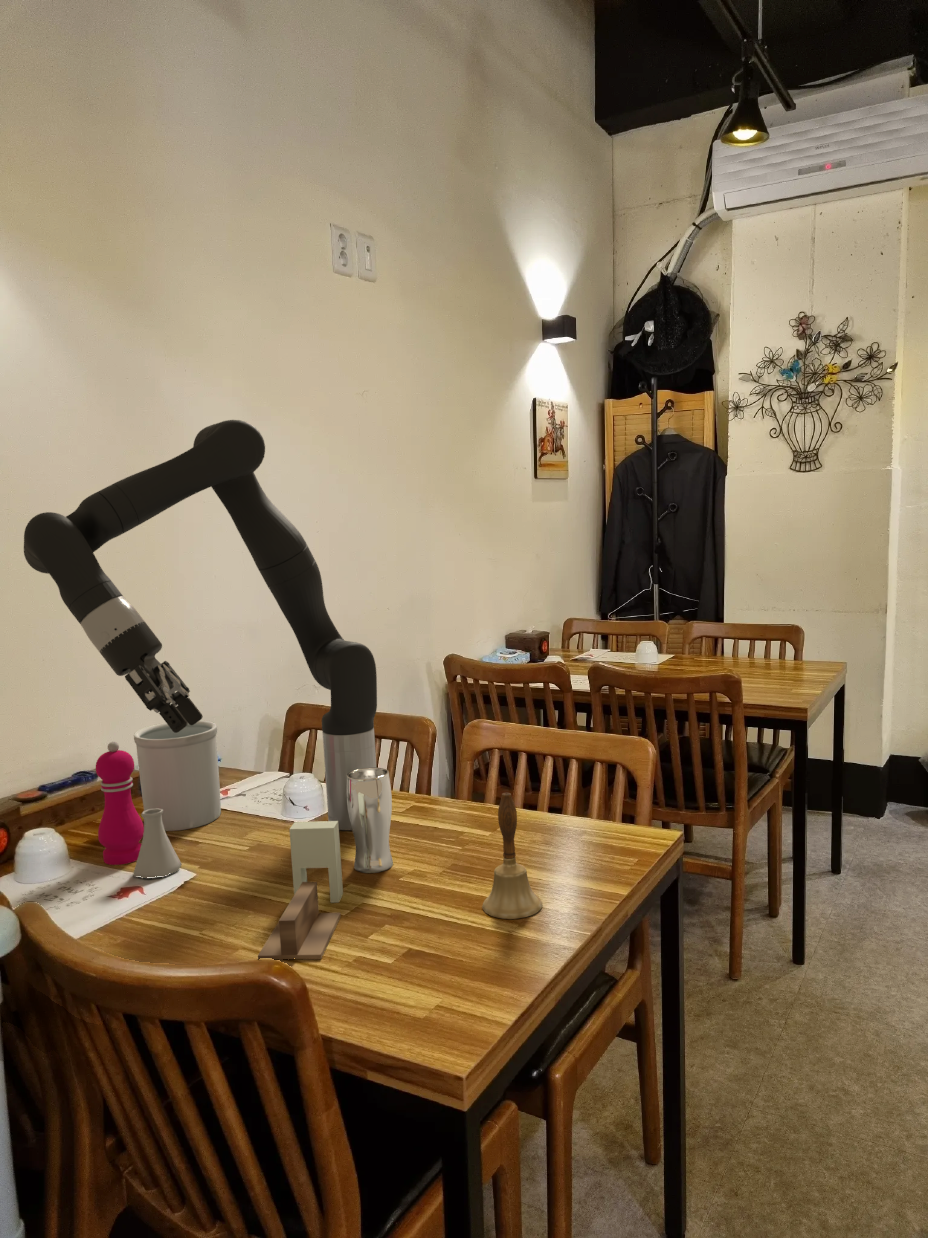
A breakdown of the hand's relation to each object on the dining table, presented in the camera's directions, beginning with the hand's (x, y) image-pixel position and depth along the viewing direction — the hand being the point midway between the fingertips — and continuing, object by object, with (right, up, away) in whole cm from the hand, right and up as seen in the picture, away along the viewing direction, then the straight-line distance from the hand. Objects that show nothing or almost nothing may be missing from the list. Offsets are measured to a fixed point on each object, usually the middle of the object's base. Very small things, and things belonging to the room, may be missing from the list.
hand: (190, 725), depth 129 cm
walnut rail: (+18, -26, -12) cm, 34 cm away
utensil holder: (-14, -23, +40) cm, 48 cm away
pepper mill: (-18, -25, +21) cm, 37 cm away
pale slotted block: (+19, -25, 0) cm, 31 cm away
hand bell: (+46, -25, -5) cm, 53 cm away
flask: (-10, -25, +14) cm, 31 cm away
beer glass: (+25, -24, +12) cm, 37 cm away
